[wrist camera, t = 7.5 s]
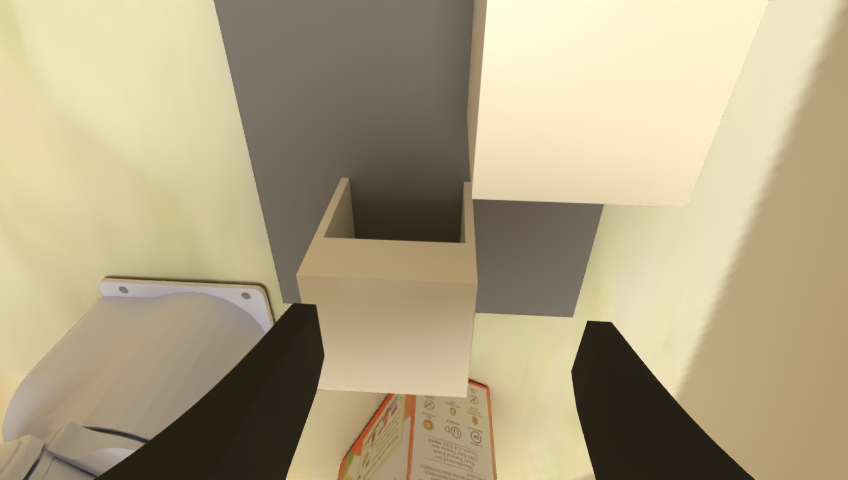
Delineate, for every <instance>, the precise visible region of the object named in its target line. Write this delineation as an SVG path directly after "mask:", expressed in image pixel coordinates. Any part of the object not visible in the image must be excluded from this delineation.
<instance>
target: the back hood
mask: <svg viewBox="0 0 848 480" xmlns="http://www.w3.org/2000/svg"><path fill="white" fill-rule="evenodd" d="M296 277H297V282H298V287H299V292H300V297H301V302H302V304H316V306H317V312H318V318H319V324H320V330H321V336H322V342H323V348H324V354H325V357H324V361H323V366H322V370H321V375H320V379H319V383H318V386H319V389H322V390H340V391H358V392H376V393H394V394H411V395H429V396H447V397H465V398H466V397H467V387H468V376H469V366H470V356H471V346H472V336H473V325H474V315H475V305H476V295H477V285H478V281H477V264H476V247H475V230H474V213H473V199H472V198H471V182H464V188H463V203H462V219H461V234H460V243H446V242H421V241H396V240H372V239H355V232H354V222H353V212H352V202H351V191H350V181H349V178H341V180H340V182H339V184H338V186H337V189H336V191H335V193H334V195H333V197H332V199H331V201H330V204H329V206H328V208H327V210H326V212H325V214H324V216H323V219H322V221H321V223H320V225H319V227H318V229H317V231H316V234H315V236H314V238H313V240H312V242H311V244H310V246H309V249H308V251H307V253H306V255H305V257H304V259H303V261H302V264H301V266H300V268H299V270H298V272H297V274H296Z"/></svg>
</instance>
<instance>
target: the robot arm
mask: <svg viewBox="0 0 848 480" xmlns="http://www.w3.org/2000/svg"><path fill="white" fill-rule="evenodd" d="M98 288H99V290H100V292H101V294H102V296H103V297H102V298H101V299H100V300H99V301H98V302H97V303H96V304H95V305H94V306H93V307H92V308H91V309H90V310H89V311H88V312H87V313H86V314H85V315H84V316H83V317H82V319H81V320H80V321H79V322H78V323H77V324H76V325H75V326H74V327H73V328H72V329H71V330H70V331H69V332H68V333H67V334H66V335H65V336H64V337H63V338H62V339H61V340H60V341H59V342H58V343H57V344H56V345H55V346H54V347H53V348H52V350H51V351H50V352H49V353H48V354H47V355H46V356H45V357H44V358H43V359H42V360H41V361H40V362H39V363H38V364H37V365H36V366H35V367H34V368H33V369H32V370H31V371H30V372H29V373H28V375H27V376H26V377H25V379H24V380H23V381H22V382H21V384H20V385H19V387H18V389H17V390H16V392H15V394H14V396H13V398H12V400H11V402H10V404H9V407H8V409H7V412H6V415H5V419H4V423H3V442H4V443H1V444H0V480H286V476H287V473H288V470H289V467H290V464H291V462H292V459H293V456H294V453H295V451H296V448H297V445H298V442H299V439H300V437H301V434H302V431H303V428H304V426H305V423H306V420H307V417H308V414H309V411H310V409H311V406H312V403H313V400H314V397H315V394H316V391H317V387H318V383H319V379H320V375H321V370H322V366H323V361H324V357H325V354H324V348H323V342H322V336H321V330H320V324H319V318H318V312H317V306H316V304H302V303H293V304H292V305H291V306H290V307H289V308H288V309H287V310H286V312H285V313H284V314H283V315H282V316H281V317H280V318H279V320H278V321H277V322H276V323H275V324H274V322H273V318H272V315H271V311H270V307H269V303H268V299H267V295H266V292H265V290H264V289H263V288H262V287H260V286H256V285H237V284H215V283H194V282H173V281H152V280H131V279H110V278H106V279H103V280H102V281H101V282H99V283H98ZM245 292H246V293H248V294H246V293H245ZM249 294H250V295H249ZM571 373H572V381H573V388H574V395H575V401H576V407H577V412H578V416H579V420H580V423H581V427H582V431H583V434H584V438H585V442H586V445H587V449H588V453H589V456H590V460H591V463H592V467H593V471H594V474H595V478H596V480H755V479H754V478H753V477H751V476H750V475H749V474H748V473H747V472H746V471H745V470H743V468H742V467H740V466H739V465H738V464H737V463H736V462H735V461H734V460H733V459H732V458H731V457H730V456H729V455H728V454H727V453H726V452H725V451H724V450H722V449H721V448H720V447H719V446H718V445H717V444H716V443H715V442H714V441H713V440H712V439H711V438H710V437H709V436H708V435H707V434H706V433H705V432H704V431H703V430H702V429H701V428H700V426H699V425H698V424H697V423H696V422H695V421H694V420H693V419H692V418H691V417H690V416H689V415H688V414H687V413H686V411H685V410H684V409H683V408H682V407H681V406H680V405H679V404H678V403H677V401H676V400H675V399H674V398H673V397H672V396H671V395H670V393H669V392H668V391H667V390H666V389H665V388H664V386H663V385H662V384H661V383H660V382H659V381H658V379H657V378H656V377H655V376H654V375H653V373H652V372H651V371H650V370H649V369H648V367H647V366H646V365H645V364H644V362H643V361H642V360H641V359H640V357H639V356H638V355H637V354H636V352H635V351H634V350H633V349H632V347H631V346H630V345H629V344H628V342H627V341H626V340H625V339H624V337H623V336H622V335H621V333H620V332H619V331H618V330H617V328H616V327H615V326H614V325H613V324H612V322H601V321H587V324H586V327H585V330H584V333H583V336H582V339H581V343H580V346H579V349H578V352H577V355H576V358H575V361H574V365H573V368H572V371H571Z"/></svg>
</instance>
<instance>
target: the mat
mask: <svg viewBox="0 0 848 480" xmlns="http://www.w3.org/2000/svg"><path fill="white" fill-rule="evenodd" d="M214 3H215V7H216V12H217V16H218V20H219V25H220V29H221V33H222V38H223V42H224V46H225V51H226V55H227V59H228V64H229V68H230V72H231V77H232V81H233V85H234V90H235V94H236V99H237V103H238V107H239V112H240V116H241V120H242V125H243V129H244V133H245V138H246V142H247V146H248V151H249V155H250V159H251V164H252V168H253V172H254V177H255V181H256V185H257V190H258V194H259V199H260V203H261V207H262V212H263V216H264V220H265V225H266V229H267V233H268V238H269V242H270V246H271V251H272V255H273V259H274V264H275V268H276V272H277V277H278V281H279V285H280V290H281V294H282V298H283V303H291V304H293V303H302V302H301V297H300V292H299V287H298V282H297V277H296V274H297V272H298V270H299V268H300V266H301V264H302V261H303V259H304V257H305V255H306V253H307V251H308V249H309V246H310V244H311V242H312V240H313V238H314V236H315V234H316V231H317V229H318V227H319V225H320V223H321V221H322V219H323V216H324V214H325V212H326V210H327V208H328V206H329V204H330V201H331V199H332V197H333V195H334V193H335V191H336V189H337V186H338V184H339V182H340V180H341V178H349V181H350V191H351V202H352V212H353V222H354V232H355V239H372V240H396V241H421V242H446V243H460V234H461V219H462V203H463V188H464V182H471V180H470V162H469V143H468V125H467V106H468V91H469V75H470V60H471V45H472V29H473V14H474V0H214ZM603 205H604V204H593V203H567V202H540V201H514V200H487V199H473V213H474V230H475V247H476V264H477V281H478V285H477V295H476V305H475V313H495V314H515V315H536V316H556V317H573V314H574V311H575V307H576V303H577V300H578V296H579V293H580V289H581V285H582V282H583V278H584V274H585V271H586V267H587V263H588V260H589V256H590V253H591V249H592V245H593V242H594V238H595V234H596V231H597V227H598V224H599V220H600V216H601V213H602V209H603Z"/></svg>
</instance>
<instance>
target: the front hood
mask: <svg viewBox="0 0 848 480" xmlns="http://www.w3.org/2000/svg"><path fill="white" fill-rule="evenodd" d="M768 1H769V0H474V14H473V29H472V45H471V60H470V75H469V91H468V106H467V125H468V143H469V162H470V180H471V198H472V199H487V200H514V201H540V202H567V203H593V204H620V205H646V206H673V207H687V204H688V202H689V199H690V197H691V194H692V192H693V189H694V187H695V184H696V182H697V179H698V177H699V174H700V172H701V169H702V167H703V164H704V162H705V159H706V157H707V154H708V152H709V149H710V147H711V144H712V142H713V139H714V137H715V134H716V132H717V129H718V127H719V124H720V122H721V119H722V117H723V114H724V112H725V109H726V107H727V104H728V102H729V99H730V97H731V94H732V92H733V89H734V87H735V84H736V82H737V79H738V77H739V74H740V72H741V69H742V67H743V64H744V62H745V59H746V57H747V54H748V52H749V49H750V47H751V44H752V42H753V39H754V37H755V34H756V31H757V29H758V26H759V24H760V21H761V19H762V16H763V14H764V11H765V9H766V6H767V4H768Z"/></svg>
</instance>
